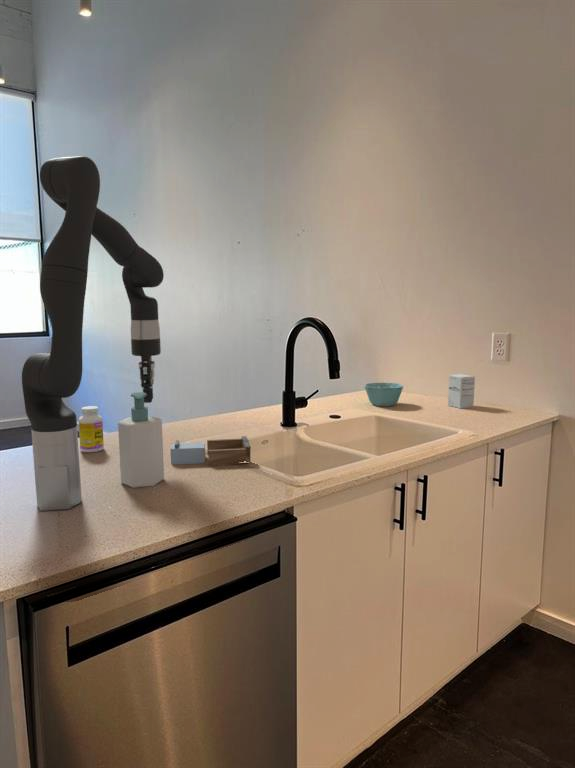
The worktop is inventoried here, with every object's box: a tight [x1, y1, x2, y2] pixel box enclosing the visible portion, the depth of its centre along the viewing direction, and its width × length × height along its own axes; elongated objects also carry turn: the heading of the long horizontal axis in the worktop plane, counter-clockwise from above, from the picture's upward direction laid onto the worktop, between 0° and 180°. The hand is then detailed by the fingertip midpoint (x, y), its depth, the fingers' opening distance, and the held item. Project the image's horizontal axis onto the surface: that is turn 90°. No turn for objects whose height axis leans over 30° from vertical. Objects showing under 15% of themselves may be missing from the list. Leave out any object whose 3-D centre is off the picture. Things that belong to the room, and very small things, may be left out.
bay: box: [206, 435, 252, 467], centre depth 161 cm, size 12×11×5 cm
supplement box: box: [447, 373, 476, 410], centre depth 231 cm, size 7×7×13 cm
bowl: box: [363, 381, 404, 407], centre depth 236 cm, size 16×16×8 cm
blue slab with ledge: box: [170, 439, 206, 465], centre depth 159 cm, size 6×9×6 cm, turn 96°
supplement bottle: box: [78, 405, 105, 454], centre depth 169 cm, size 7×7×13 cm
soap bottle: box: [117, 391, 165, 489], centre depth 140 cm, size 10×9×22 cm
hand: (148, 400), depth 155 cm, fingers open, 3 cm apart
